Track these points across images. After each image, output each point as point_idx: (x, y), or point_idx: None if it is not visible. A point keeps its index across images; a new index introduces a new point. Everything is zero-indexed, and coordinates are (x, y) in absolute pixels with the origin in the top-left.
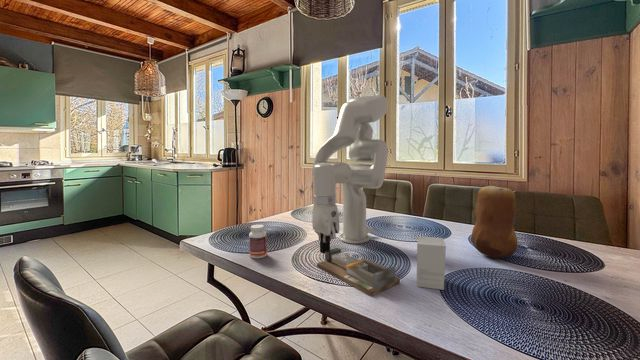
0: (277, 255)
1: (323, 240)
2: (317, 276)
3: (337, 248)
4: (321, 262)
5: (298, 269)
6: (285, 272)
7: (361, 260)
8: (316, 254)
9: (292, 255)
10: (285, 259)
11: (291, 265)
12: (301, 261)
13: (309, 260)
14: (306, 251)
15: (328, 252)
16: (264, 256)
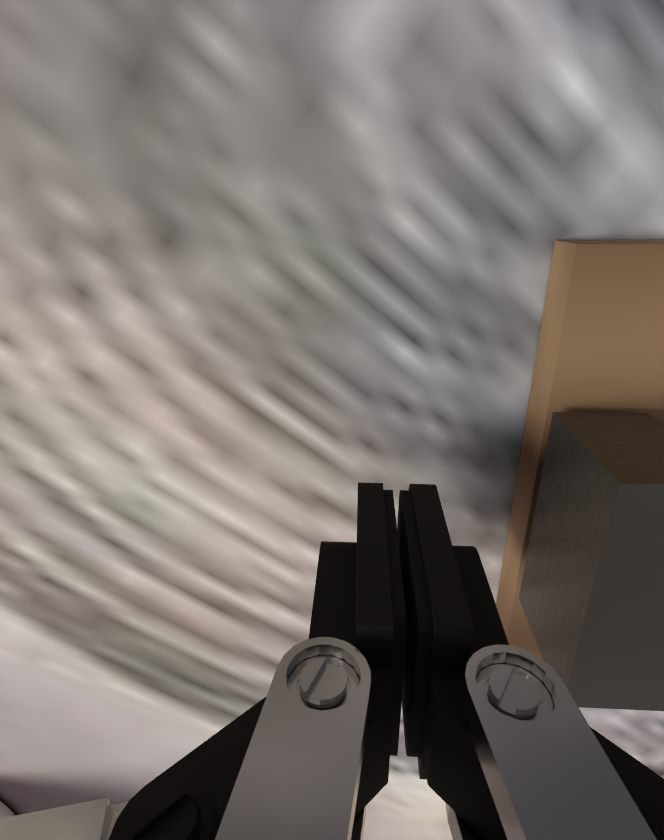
0: (15, 733)
1: (454, 805)
2: (646, 740)
3: (649, 500)
4: (520, 643)
5: (411, 762)
6: (389, 832)
7: None
8: (182, 463)
9: (77, 654)
10: (144, 733)
11: None
12: (272, 672)
13: (298, 612)
14: (25, 496)
15: (642, 703)
16: (10, 814)
